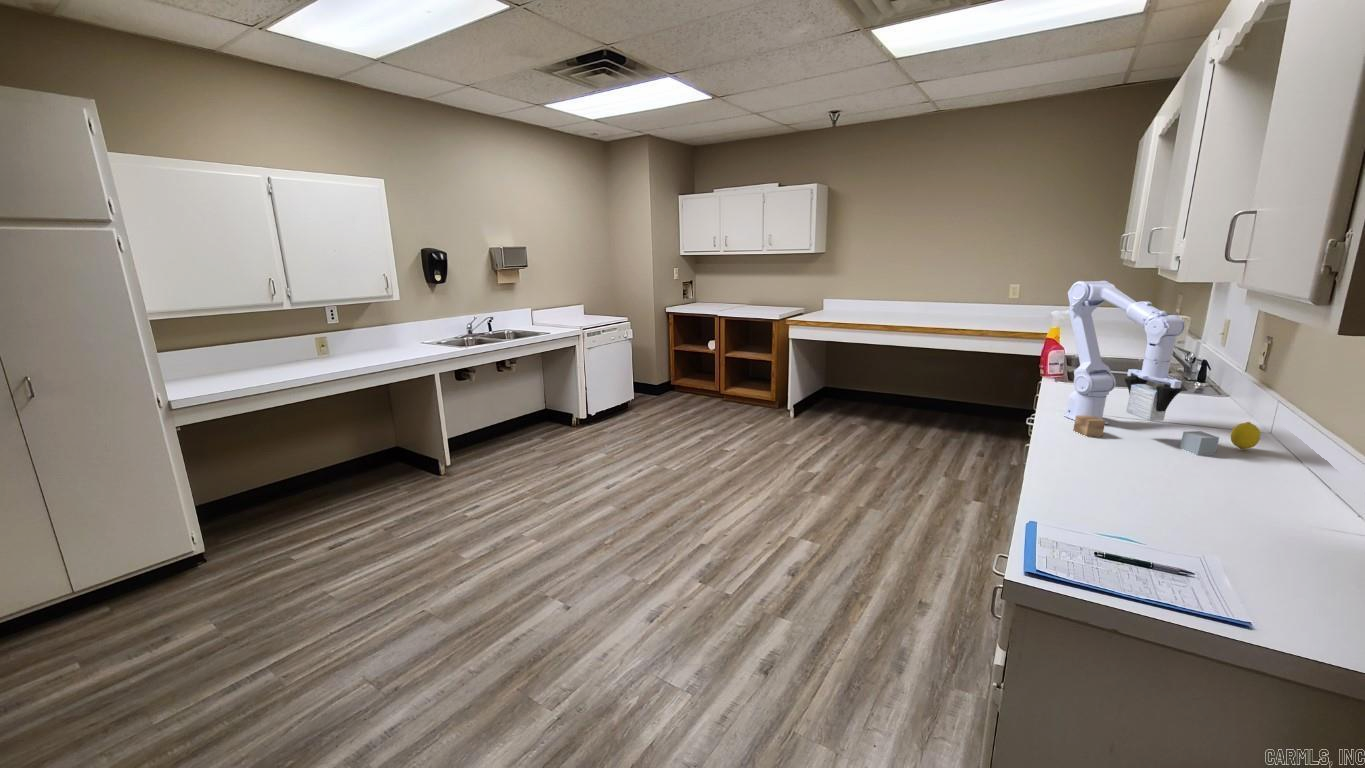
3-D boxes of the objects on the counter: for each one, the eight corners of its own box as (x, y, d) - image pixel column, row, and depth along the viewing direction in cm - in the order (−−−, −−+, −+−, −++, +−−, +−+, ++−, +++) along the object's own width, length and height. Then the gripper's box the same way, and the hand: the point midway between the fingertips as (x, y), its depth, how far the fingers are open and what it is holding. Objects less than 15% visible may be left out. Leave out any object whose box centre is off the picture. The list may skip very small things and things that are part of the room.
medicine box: (1164, 421, 152) (1171, 391, 150) (1148, 421, 152) (1155, 391, 150) (1139, 412, 160) (1146, 383, 157) (1125, 412, 159) (1131, 383, 157)
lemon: (1243, 446, 152) (1250, 419, 150) (1261, 454, 146) (1269, 425, 144) (1221, 446, 152) (1228, 418, 150) (1239, 453, 147) (1246, 425, 145)
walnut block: (1073, 431, 165) (1075, 415, 164) (1088, 430, 165) (1091, 415, 164) (1085, 437, 160) (1089, 420, 159) (1102, 436, 160) (1105, 420, 159)
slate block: (1179, 448, 150) (1183, 431, 149) (1196, 448, 151) (1200, 431, 150) (1197, 455, 146) (1201, 438, 144) (1214, 455, 146) (1219, 437, 145)
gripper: (1121, 354, 158) (1112, 399, 162) (1168, 365, 144) (1157, 414, 148) (1144, 354, 159) (1135, 399, 162) (1193, 364, 145) (1181, 413, 148)
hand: (1147, 406), depth 155 cm, fingers closed on medicine box, 7 cm apart
